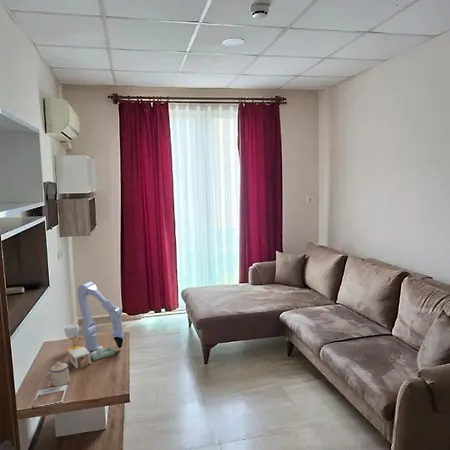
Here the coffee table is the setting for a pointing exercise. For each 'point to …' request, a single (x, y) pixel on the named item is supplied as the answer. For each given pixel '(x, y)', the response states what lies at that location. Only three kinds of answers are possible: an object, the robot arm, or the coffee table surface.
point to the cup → (72, 334)
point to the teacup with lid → (59, 374)
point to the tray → (106, 351)
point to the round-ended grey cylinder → (100, 350)
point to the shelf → (79, 355)
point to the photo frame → (52, 390)
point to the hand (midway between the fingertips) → (120, 347)
